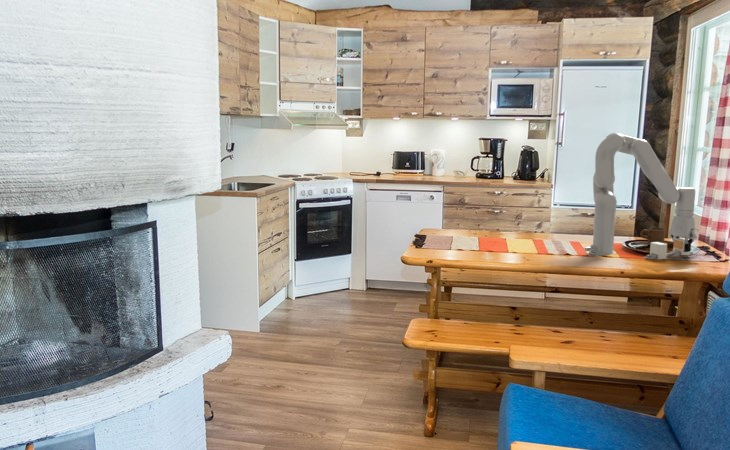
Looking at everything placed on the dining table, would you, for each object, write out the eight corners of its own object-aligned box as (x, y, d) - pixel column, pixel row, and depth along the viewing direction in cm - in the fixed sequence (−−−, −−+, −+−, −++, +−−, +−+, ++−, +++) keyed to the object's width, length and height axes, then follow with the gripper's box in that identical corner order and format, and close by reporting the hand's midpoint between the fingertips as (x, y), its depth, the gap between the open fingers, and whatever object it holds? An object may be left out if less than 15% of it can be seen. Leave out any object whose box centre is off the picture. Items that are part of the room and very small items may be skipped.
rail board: (653, 262, 267) (653, 256, 267) (641, 259, 274) (642, 253, 273) (696, 258, 275) (697, 252, 274) (684, 255, 281) (685, 249, 281)
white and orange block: (681, 255, 272) (683, 240, 271) (671, 252, 278) (673, 238, 277) (689, 254, 274) (690, 240, 272) (679, 251, 279) (680, 237, 278)
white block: (659, 259, 269) (660, 244, 267) (649, 256, 274) (650, 242, 273) (667, 258, 270) (668, 244, 269) (657, 255, 276) (658, 241, 274)
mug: (642, 247, 300) (643, 230, 298) (637, 244, 307) (638, 227, 306) (666, 248, 298) (667, 230, 297) (660, 245, 306) (661, 227, 304)
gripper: (663, 211, 280) (661, 247, 283) (693, 216, 263) (690, 254, 266) (676, 210, 282) (673, 246, 285) (706, 215, 266) (702, 253, 269)
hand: (681, 249), depth 276 cm, fingers closed on white and orange block, 6 cm apart
